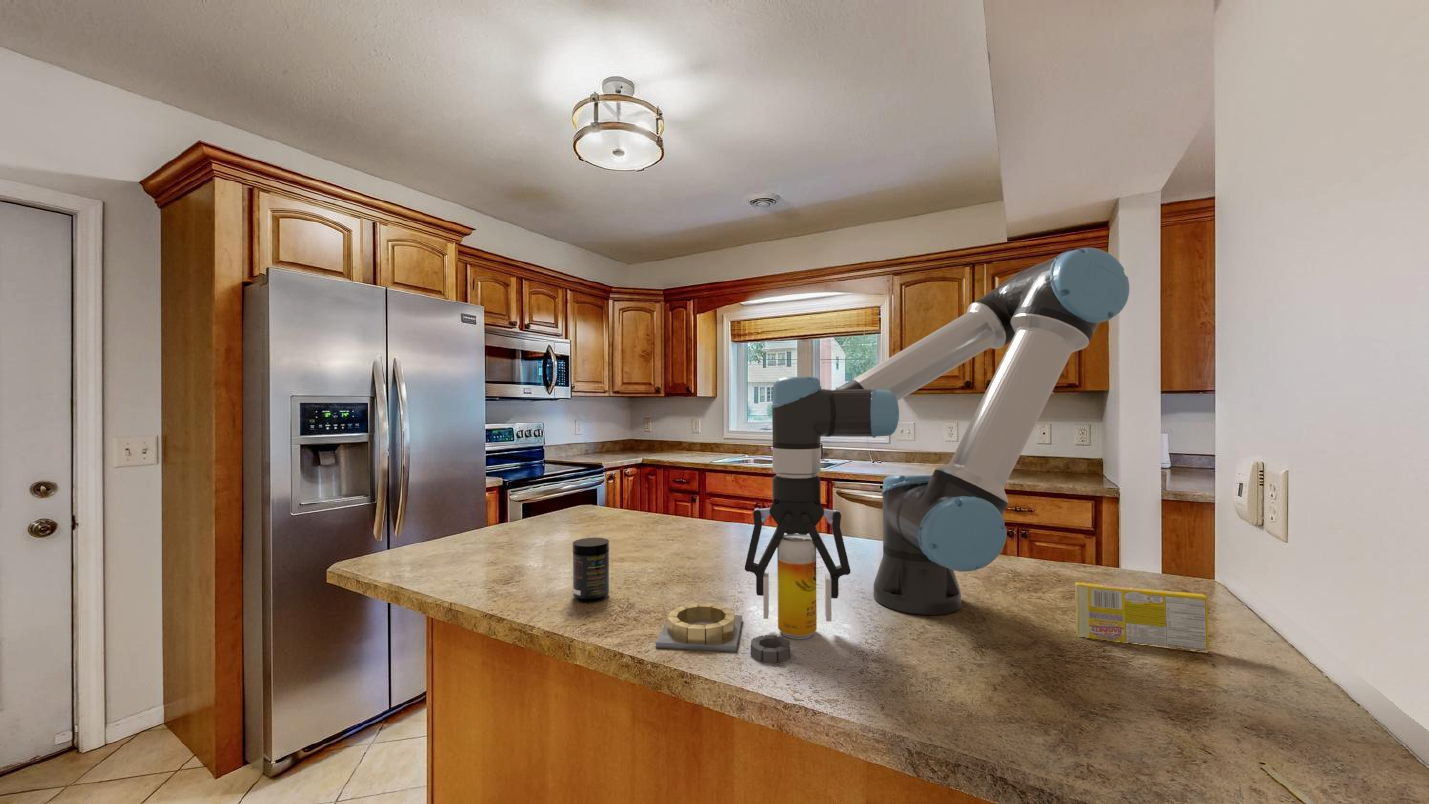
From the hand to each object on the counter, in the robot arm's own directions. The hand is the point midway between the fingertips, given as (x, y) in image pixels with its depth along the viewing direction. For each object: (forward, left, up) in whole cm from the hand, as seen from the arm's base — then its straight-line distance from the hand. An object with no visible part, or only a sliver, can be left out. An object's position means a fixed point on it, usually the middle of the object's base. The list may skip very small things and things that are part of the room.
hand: (797, 616), depth 89 cm
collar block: (+15, +2, -2) cm, 15 cm away
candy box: (-51, -2, -3) cm, 51 cm away
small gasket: (+4, +8, -2) cm, 9 cm away
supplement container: (+38, -12, -3) cm, 40 cm away
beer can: (0, 0, -3) cm, 3 cm away
